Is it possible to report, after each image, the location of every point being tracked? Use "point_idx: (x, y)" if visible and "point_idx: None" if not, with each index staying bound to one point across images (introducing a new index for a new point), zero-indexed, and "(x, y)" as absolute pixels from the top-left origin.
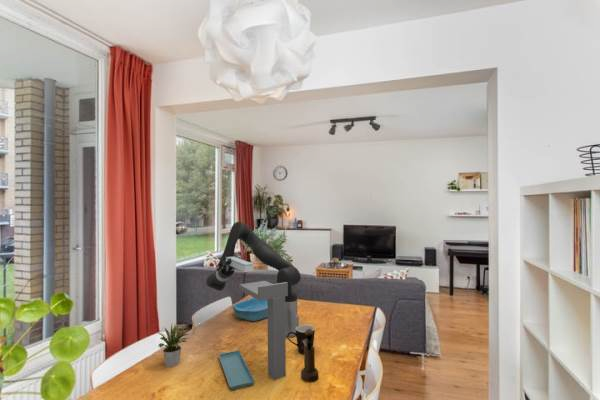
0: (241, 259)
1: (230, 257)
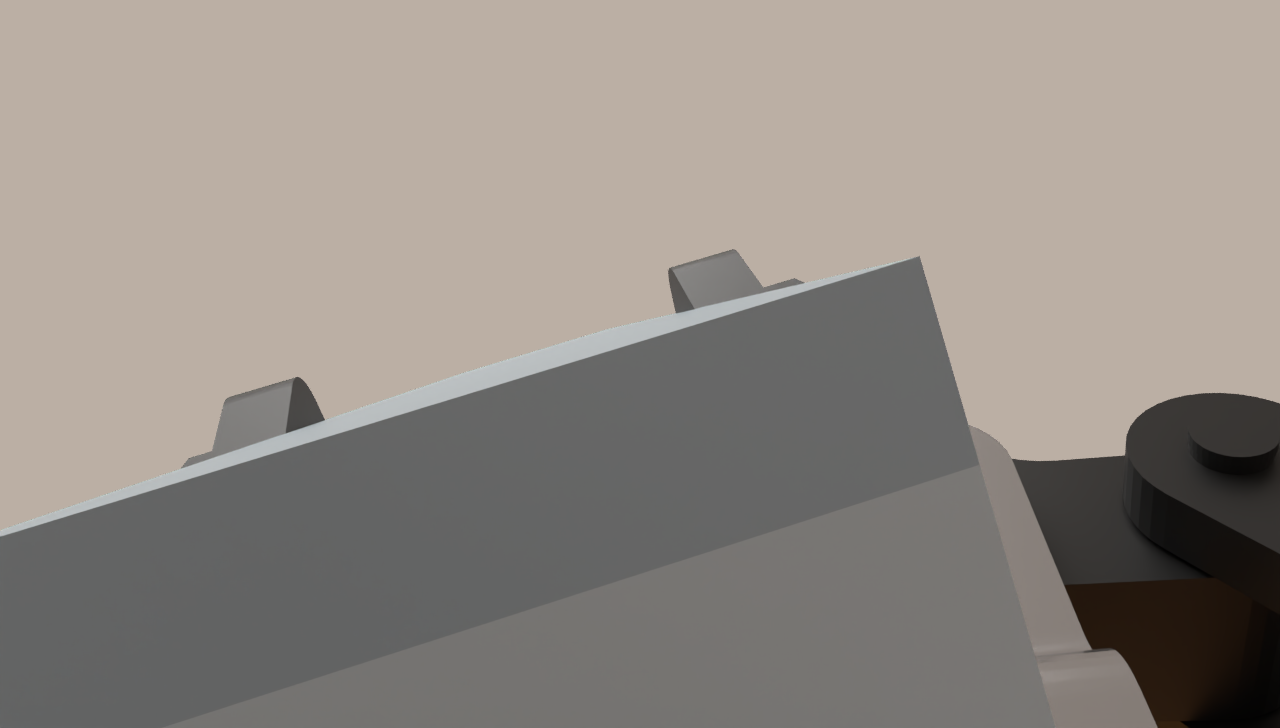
0: (380, 401)
1: (520, 369)
